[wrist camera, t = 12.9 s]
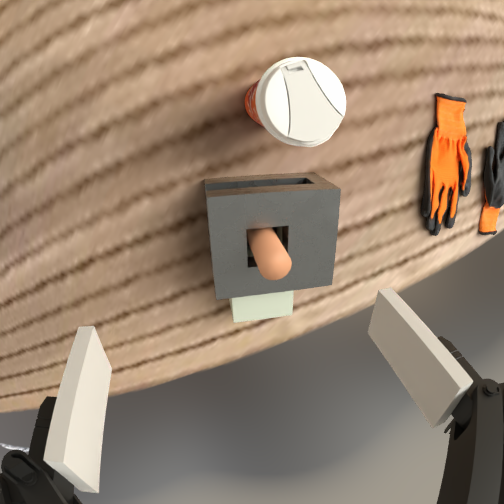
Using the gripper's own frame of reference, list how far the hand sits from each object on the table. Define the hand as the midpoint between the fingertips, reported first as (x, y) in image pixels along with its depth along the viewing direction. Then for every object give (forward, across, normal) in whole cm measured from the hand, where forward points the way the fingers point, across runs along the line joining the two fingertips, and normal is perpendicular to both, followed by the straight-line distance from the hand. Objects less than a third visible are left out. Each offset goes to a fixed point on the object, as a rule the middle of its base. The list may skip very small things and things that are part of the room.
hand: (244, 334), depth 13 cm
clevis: (+27, +6, -6) cm, 28 cm away
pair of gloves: (+27, +46, +2) cm, 53 cm away
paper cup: (+27, +8, +9) cm, 30 cm away
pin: (+27, +6, -6) cm, 28 cm away
